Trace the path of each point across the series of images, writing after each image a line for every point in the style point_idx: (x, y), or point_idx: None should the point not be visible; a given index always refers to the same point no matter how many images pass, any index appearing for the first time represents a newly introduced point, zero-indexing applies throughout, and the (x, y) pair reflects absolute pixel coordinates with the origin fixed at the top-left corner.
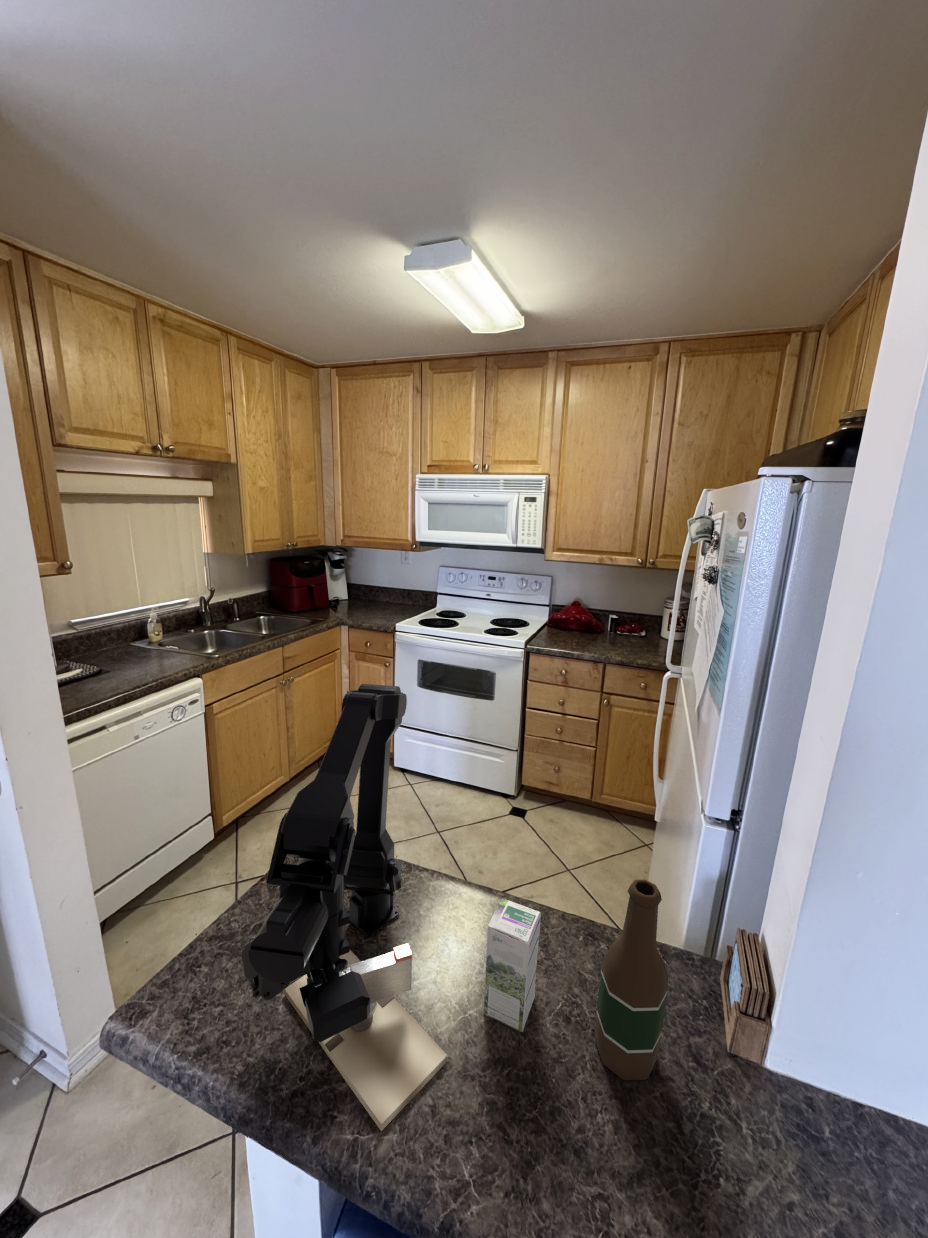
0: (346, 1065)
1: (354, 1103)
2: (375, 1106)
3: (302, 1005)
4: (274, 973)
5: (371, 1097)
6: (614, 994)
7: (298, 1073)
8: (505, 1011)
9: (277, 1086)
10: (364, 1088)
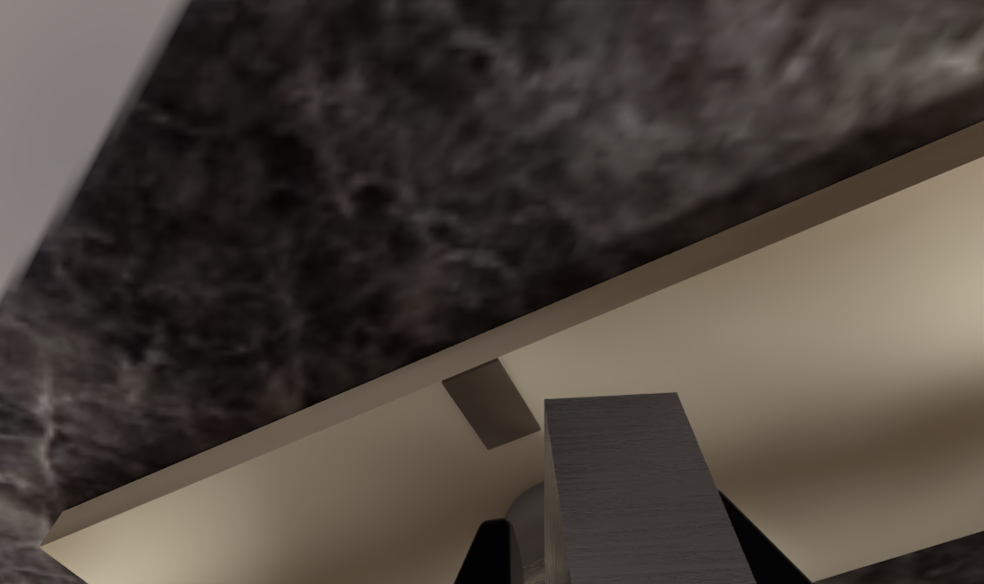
0: (339, 451)
1: (192, 433)
2: (115, 538)
3: (849, 243)
4: None
5: (161, 527)
6: None
7: (411, 181)
8: None
9: (359, 42)
10: (204, 509)
